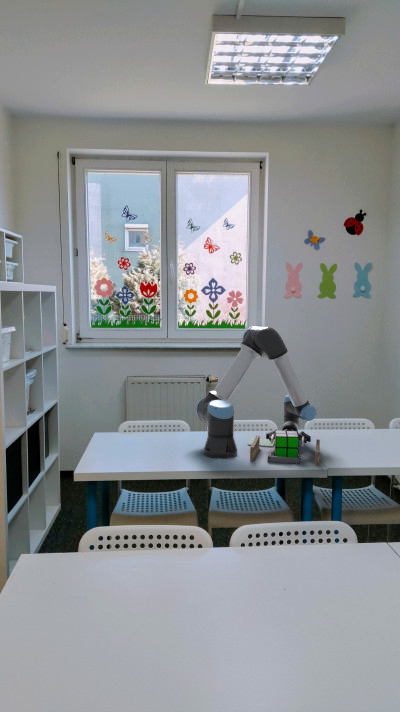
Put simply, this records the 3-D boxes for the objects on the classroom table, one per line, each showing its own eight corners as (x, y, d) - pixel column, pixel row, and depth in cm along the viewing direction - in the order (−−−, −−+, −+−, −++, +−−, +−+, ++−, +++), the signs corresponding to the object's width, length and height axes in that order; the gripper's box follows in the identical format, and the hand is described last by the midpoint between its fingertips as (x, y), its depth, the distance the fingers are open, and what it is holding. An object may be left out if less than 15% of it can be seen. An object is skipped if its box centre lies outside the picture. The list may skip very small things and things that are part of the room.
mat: (247, 445, 239) (247, 444, 239) (251, 438, 251) (251, 437, 251) (272, 447, 236) (272, 446, 236) (275, 440, 248) (275, 439, 248)
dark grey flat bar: (267, 462, 214) (267, 456, 214) (268, 458, 219) (268, 452, 219) (300, 464, 211) (300, 459, 210) (301, 460, 216) (301, 455, 216)
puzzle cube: (296, 452, 228) (296, 431, 227) (298, 459, 219) (299, 436, 218) (274, 451, 229) (274, 430, 228) (275, 458, 220) (275, 436, 218)
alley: (250, 460, 216) (250, 447, 215) (256, 447, 235) (256, 435, 235) (319, 466, 209) (319, 452, 208) (319, 452, 228) (319, 439, 228)
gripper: (316, 439, 240) (315, 452, 219) (264, 436, 246) (258, 448, 225) (316, 424, 239) (316, 435, 219) (264, 421, 245) (259, 432, 224)
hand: (287, 442), depth 222 cm, fingers open, 13 cm apart
